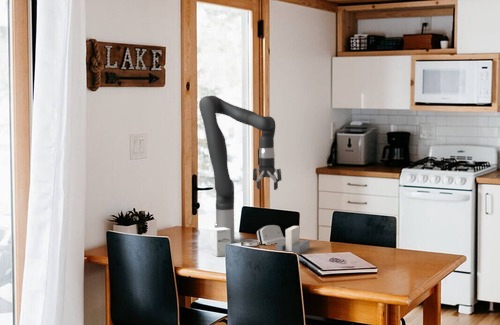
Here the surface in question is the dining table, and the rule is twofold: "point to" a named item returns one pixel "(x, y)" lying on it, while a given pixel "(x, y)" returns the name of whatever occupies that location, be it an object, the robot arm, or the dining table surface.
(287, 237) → the door panel
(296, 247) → the door track
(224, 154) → the robot arm
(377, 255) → the dining table surface
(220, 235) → the supplement box
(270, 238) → the hinge
